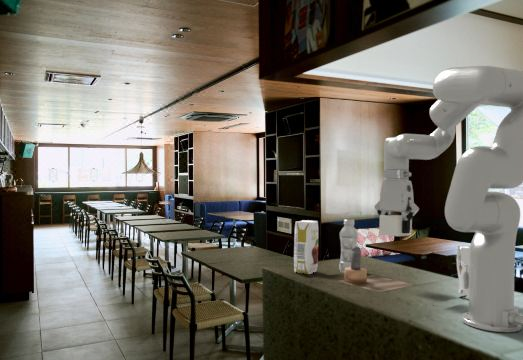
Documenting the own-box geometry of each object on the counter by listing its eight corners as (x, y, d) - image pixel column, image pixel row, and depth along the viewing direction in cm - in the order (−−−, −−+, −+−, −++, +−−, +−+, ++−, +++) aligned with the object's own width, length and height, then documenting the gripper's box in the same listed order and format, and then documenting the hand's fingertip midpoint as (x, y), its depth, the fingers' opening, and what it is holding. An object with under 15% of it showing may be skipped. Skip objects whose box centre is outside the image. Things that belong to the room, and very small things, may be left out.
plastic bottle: (357, 276, 154) (358, 220, 154) (338, 275, 155) (339, 220, 156) (357, 273, 160) (358, 219, 161) (339, 271, 162) (340, 218, 162)
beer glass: (472, 302, 123) (473, 249, 123) (450, 296, 129) (451, 246, 129) (486, 299, 126) (487, 248, 127) (464, 293, 132) (465, 245, 132)
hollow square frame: (411, 235, 136) (411, 216, 136) (397, 236, 132) (398, 216, 132) (393, 233, 142) (393, 214, 142) (379, 234, 138) (379, 215, 138)
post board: (415, 289, 136) (416, 248, 136) (378, 297, 126) (379, 252, 126) (372, 279, 150) (373, 242, 150) (336, 285, 139) (337, 245, 139)
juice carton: (291, 272, 158) (292, 221, 159) (300, 269, 166) (302, 219, 166) (310, 275, 155) (311, 222, 155) (319, 271, 162) (320, 220, 162)
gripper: (427, 176, 132) (426, 234, 132) (381, 176, 147) (380, 229, 146) (412, 175, 128) (412, 235, 128) (366, 176, 142) (366, 230, 142)
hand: (395, 231), depth 137 cm, fingers closed on hollow square frame, 7 cm apart
